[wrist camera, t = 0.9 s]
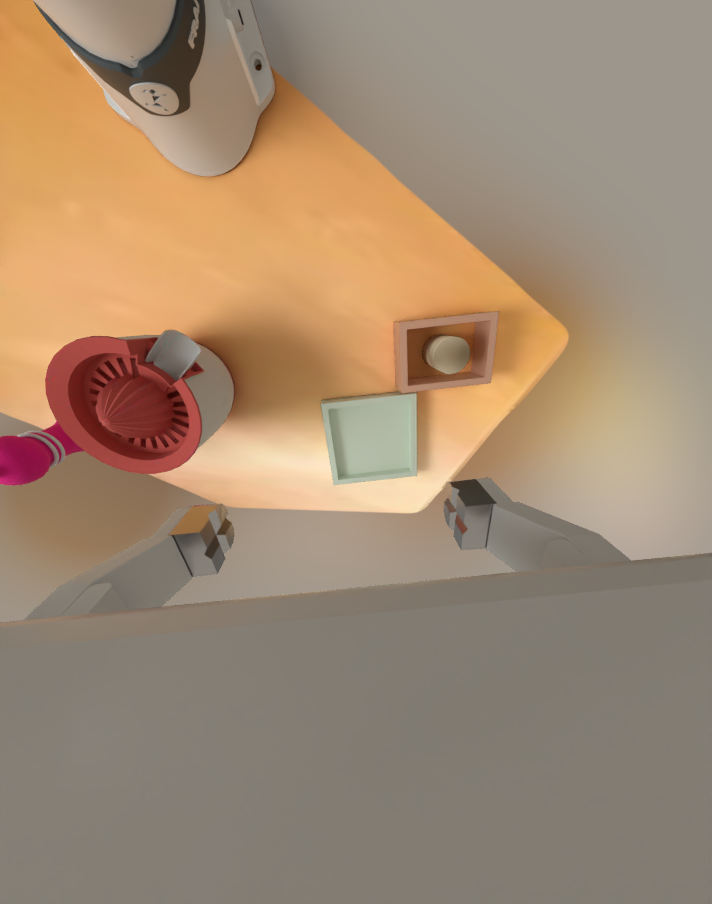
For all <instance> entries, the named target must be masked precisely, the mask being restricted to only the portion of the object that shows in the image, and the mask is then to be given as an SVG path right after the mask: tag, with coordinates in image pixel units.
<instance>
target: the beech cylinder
mask: <svg viewBox="0 0 712 904" xmlns="http://www.w3.org/2000/svg"><path fill="white" fill-rule="evenodd" d="M422 357H423V360H424V361H425V363H426V364H428V365H429V366H431V367H433V368H435V369H437V370H439V371H441V372H443V373H445V374H454V373H457V372H459V371H461V370H462V369H463V368H464V367H465V366H466V364H467V363H468V360H469V357H470V348H469V345H468V343H467V342H466V341H465V340H464V339H462V338H459V337H454V336H447V335H440V334H437V335H433V336H431V337H430V338H428V339H427V340H426V342H425V343H424V345H423V348H422Z"/></svg>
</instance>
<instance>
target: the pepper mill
mask: <svg viewBox="0 0 712 904" xmlns="http://www.w3.org/2000/svg"><path fill="white" fill-rule="evenodd" d="M81 451H84V450H83V449H82V448H81V447H79V446H78V445H77V444H76V443H75V442H74V441H73V440H72V439H71V438H70V437H69V436H68V435H67V434H66V433H65V432H64V430H63V429H62V427H61V426H60V424H59V423H58V422H56V423H55V424H54V425H53V426H51V427H49V428H47V429H45V430H43V431H35V430H33V431H28V432H26V433H23V434H20V435H17V436H3V437H0V484H4V485H22V484H27V483H30V482H33V481H35V480H37V479H39V478H41V477H43V476H44V475H45V473H46V472H47V471H48V469H49V468H51V467H53V466H55V465H57V464H59V463H61V462H62V461H63V460H64V458H65V456H66V455H69V454H71V453H75V452H81Z"/></svg>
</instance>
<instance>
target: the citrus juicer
mask: <svg viewBox="0 0 712 904" xmlns="http://www.w3.org/2000/svg"><path fill="white" fill-rule="evenodd" d="M45 382H46V395H47V398H48V402H49V406H50V408H51V410H52V412H53V414H54V416H55V418H56V420H57V422H58V423H59V424H60V426H61V427H62V429H63V430H64V432H65V433H66V434H67V435H68V436H69V437H70V438H71V439H72V440H73V441H74V442H75V443H76V444H77V445H78V446H79V447H81V448H82V449H83V450H84V451H86V452H87V453H88V454H90V455H92V456H93V457H95V458H96V459H98V460H100V461H101V462H103V463H105V464H108V465H110V466H112V467H115V468H118V469H121V470H125V471H128V472H134V473H141V474H156V473H161V472H166V471H170V470H172V469H175V468H177V467H179V466H181V465H182V464H184V463H185V462H187V461H188V460H189V459H190V458H191V456H192V455H193V454H194V453H195V451H196V449H197V448H199V447H200V446H201V445H202V444H203V443H204V442H205V441H206V440H208V439H209V438H210V437H211V436H212V435H213V434H214V433H215V432H216V431H217V430H218V429H219V428H220V426H221V425H222V424H223V423H224V422H225V420H226V418H227V416H228V414H229V412H230V410H231V407H232V405H233V401H234V397H235V387H234V382H233V378H232V375H231V373H230V371H229V369H228V367H227V366H226V364H225V363H224V362H223V361H222V360H221V358H220V357H218V356H217V355H216V354H215V353H214V352H213V351H211V350H210V349H208V348H206V347H205V346H203V345H201V344H198V343H196V342H194V341H193V340H192V339H190V338H189V337H187V336H186V335H184V334H182V333H180V332H178V331H175V330H166V331H164V332H163V333H162V334H161V335H142V336H129V337H117V338H114V337H109V336H91V337H86V338H81V339H77V340H75V341H73V342H71V343H69V344H67V345H65V346H64V347H63V348H62V349H61V350H60V351H59V352H58V353H56V354H55V355H54V357H53V359H52V361H51V362H50V364H49V366H48V369H47V374H46V379H45Z"/></svg>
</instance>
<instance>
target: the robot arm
mask: <svg viewBox="0 0 712 904" xmlns="http://www.w3.org/2000/svg"><path fill="white" fill-rule="evenodd" d="M33 2H34V3H35V5H36V6H37V8H38V9H39V11H40V12H41V14H42V15H43V16H44V18H45V19H46V20H47V22H48V23H49V24H50V25H51V27H52V28H53V29H54V30H55V31H56V32H57V33H58V35H59V36H60V38H61V39H63V40H64V42H65V43H66V45H67V46H68V47H69V48H70V50H71V51H72V53H73V54H74V55H75V57H76V58H77V59H78V60H79V61H80V63H81V64H82V65H83V66H84V67H85V68H86V70H87V71H88V72H89V73H90V74H91V75H92V76H93V78H94V79H95V80H96V81H97V82H98V83H99V85H100V86H101V87H102V88H103V90H104V95H105V98H106V100H107V102H108V103H109V105H110V106H111V107H112V108H113V109H114V111H115V112H116V113H117V114H118V115H119V116H121V117H122V118H123V119H125V120H126V121H128V122H129V123H131V124H132V125H134V126H136V127H137V128H139V129H140V130H141V131H142V132H143V133H144V134H145V135H146V136H147V138H148V139H149V140H150V141H151V143H152V144H153V145H154V146H155V147H156V149H157V150H158V151H159V152H160V153H161V154H162V155H163V156H164V157H165V158H166V159H168V160H169V161H170V162H171V163H173V164H174V165H176V166H177V167H179V168H180V169H182V170H184V171H186V172H189V173H192V174H195V175H199V176H216V175H220V174H223V173H225V172H227V171H229V170H231V169H232V168H234V167H235V166H236V165H237V164H238V163H239V162H240V161H241V160H242V158H243V157H244V156H245V154H246V152H247V151H248V149H249V147H250V144H251V142H252V139H253V136H254V132H255V128H256V125H257V121H258V119H259V116H260V114H261V113H262V112H263V111H264V109H265V108H266V107H267V106H268V104H269V103H270V101H271V100H272V98H273V96H274V93H275V81H274V77H273V74H272V71H271V67H270V64H269V60H268V57H267V53H266V50H265V47H264V43H263V40H262V37H261V33H260V30H259V26H258V22H257V19H256V16H255V12H254V9H253V5H252V2H251V0H33ZM258 64H260V65H262V68H261V70H260V71H258V70H256V66H257V65H258ZM445 493H446V495H447V497H448V498H447V499H446V501H445V502H444V514H445V518H446V522H447V524H448V526H449V528H451V529H453V530H454V537H455V540H456V541H457V543H458V545H459V547H460V549H461V550H469V549H485V548H486V550H487V551H489V552H490V553H492V554H493V555H494V556H496V557H497V558H498V559H500V560H501V561H503V562H504V563H505V564H507V565H508V566H510V567H511V568H512V569H514V570H515V571H516V572H511V573H501V574H491V575H481V576H471V577H462V578H461V577H460V578H450V579H440V580H430V581H419V582H409V583H399V584H388V585H378V586H367V587H357V588H348V589H337V590H327V591H318V592H307V593H298V594H288V595H278V596H267V597H256V598H246V599H236V600H226V601H215V602H205V603H194V604H185V605H174V606H164V607H162V606H163V605H164V603H166V602H167V601H168V600H169V599H170V598H171V597H172V596H174V595H175V594H176V593H177V592H178V591H179V590H180V589H181V588H182V587H183V586H184V585H186V584H187V583H188V582H189V581H190V580H191V579H192V577H196V576H204V575H211V574H218V572H219V570H220V568H221V566H222V564H223V562H224V560H225V556H224V553H225V552H227V551H228V550H229V549H230V548H231V546H232V543H233V540H234V528H233V526H232V523H231V522H230V521H228V520H227V519H226V517H227V515H228V511H227V509H226V506H225V505H223V504H211V505H198V506H186V507H180V508H177V510H176V511H175V512H174V513H173V514H172V515H171V516H170V517H169V519H168V520H167V521H166V522H165V523H164V524H163V525H162V526H161V527H160V528H159V529H158V531H157V532H156V533H155V534H154V535H153V536H152V537H150V538H146V539H144V540H142V541H140V542H138V543H137V544H135V545H133V546H131V547H130V548H128V549H126V550H124V551H122V552H120V553H119V554H117V555H115V556H113V557H111V558H110V559H108V560H106V561H104V562H102V563H101V564H99V565H97V566H95V567H93V568H92V569H90V570H88V571H86V572H84V573H83V574H81V575H79V576H77V577H75V578H74V579H72V580H70V581H68V582H67V583H65V584H63V585H61V586H59V587H58V588H57V589H56V590H55V591H54V592H53V593H52V594H51V595H50V596H48V597H47V599H45V600H44V601H43V602H42V603H41V604H40V605H39V606H38V607H37V608H36V609H34V610H33V611H32V612H31V613H30V614H29V615H28V616H27V617H26V618H25V619H24V620H20V621H9V622H0V904H712V553H705V554H695V555H684V556H674V557H665V558H654V559H643V560H633V561H631V560H630V559H629V558H628V557H626V556H625V555H624V554H623V553H622V552H620V551H619V550H618V549H617V548H615V547H614V546H613V545H612V544H611V543H609V542H608V541H607V540H606V539H604V538H603V537H602V536H601V535H600V534H597V533H595V532H592V531H590V530H587V529H585V528H582V527H580V526H577V525H575V524H572V523H570V522H567V521H565V520H562V519H560V518H557V517H555V516H552V515H550V514H547V513H545V512H542V511H540V510H537V509H535V508H532V507H530V506H527V505H525V504H522V503H519V502H513V501H512V500H511V499H510V498H509V497H508V496H507V495H506V494H505V493H504V492H503V491H502V490H501V489H500V488H499V487H498V486H497V485H496V484H495V483H494V481H492V479H490V478H488V477H485V478H478V479H472V480H463V481H454V482H446V485H445Z"/></svg>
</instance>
